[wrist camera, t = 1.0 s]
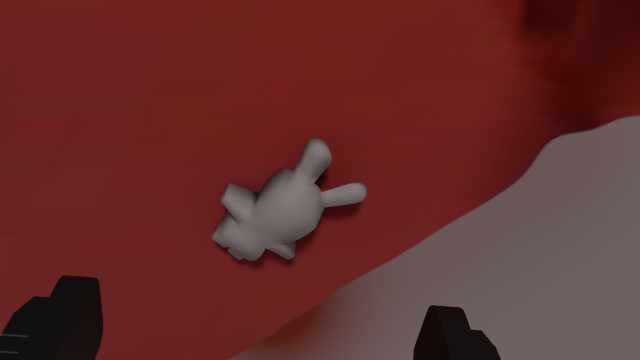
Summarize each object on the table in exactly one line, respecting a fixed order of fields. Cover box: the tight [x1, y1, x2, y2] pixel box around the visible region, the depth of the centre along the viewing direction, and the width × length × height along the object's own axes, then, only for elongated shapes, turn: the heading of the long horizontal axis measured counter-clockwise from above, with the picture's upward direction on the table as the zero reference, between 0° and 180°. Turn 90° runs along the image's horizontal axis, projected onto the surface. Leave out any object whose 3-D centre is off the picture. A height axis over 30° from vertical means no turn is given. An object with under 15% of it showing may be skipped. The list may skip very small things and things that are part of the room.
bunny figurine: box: [212, 138, 368, 260], centre depth 49 cm, size 10×5×15 cm
